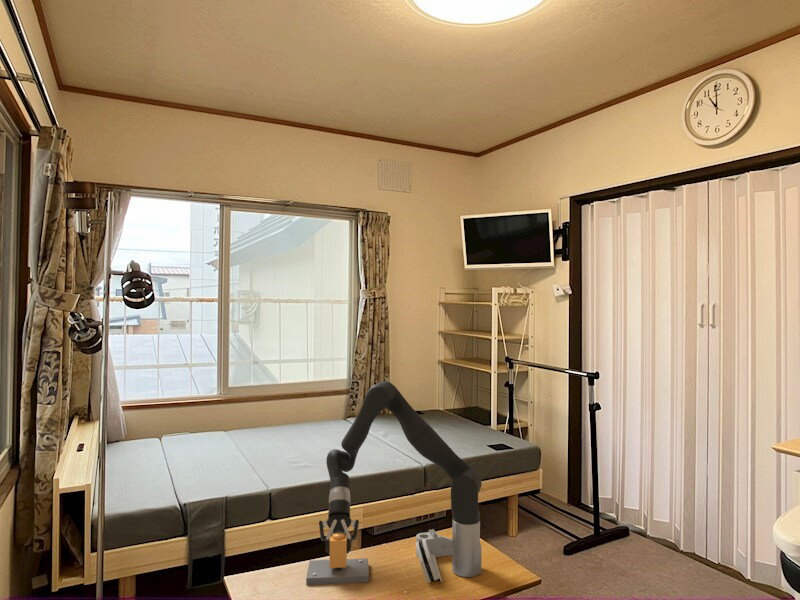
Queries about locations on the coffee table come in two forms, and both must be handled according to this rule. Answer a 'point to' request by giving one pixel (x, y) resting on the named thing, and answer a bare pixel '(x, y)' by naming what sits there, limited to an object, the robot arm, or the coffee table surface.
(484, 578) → the coffee table surface
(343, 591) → the coffee table surface
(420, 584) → the coffee table surface
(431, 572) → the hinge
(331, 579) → the riveted grey base plate
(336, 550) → the orange dome-topped block
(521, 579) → the coffee table surface
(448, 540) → the grey mounting bracket
